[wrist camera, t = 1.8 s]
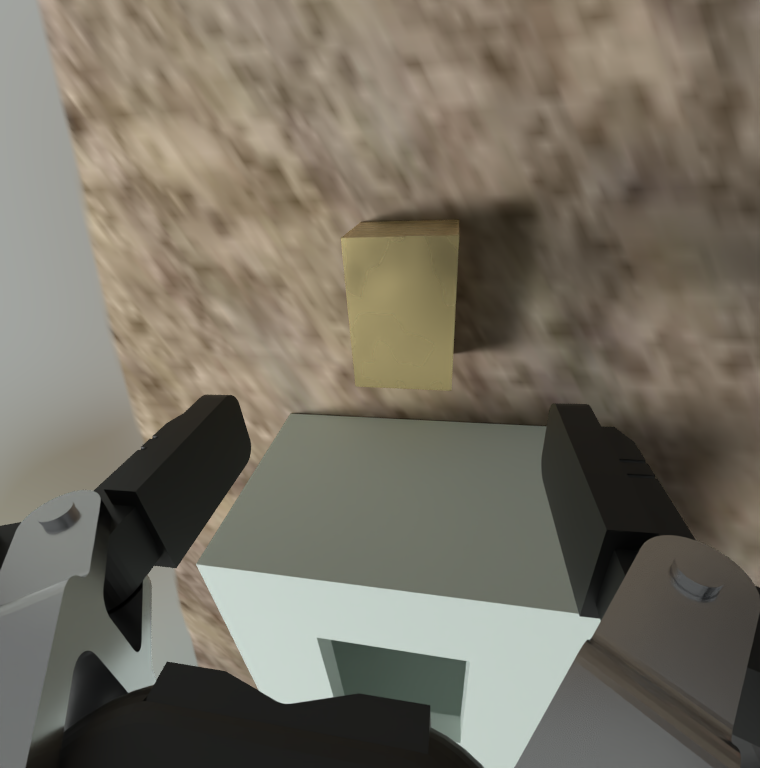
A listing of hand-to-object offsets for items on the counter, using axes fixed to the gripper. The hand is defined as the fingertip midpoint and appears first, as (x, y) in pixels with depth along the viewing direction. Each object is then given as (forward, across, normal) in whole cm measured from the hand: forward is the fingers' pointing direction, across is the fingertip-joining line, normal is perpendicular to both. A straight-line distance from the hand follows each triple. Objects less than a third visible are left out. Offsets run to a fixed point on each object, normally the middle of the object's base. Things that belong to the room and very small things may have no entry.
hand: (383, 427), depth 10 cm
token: (+9, 0, -1) cm, 9 cm away
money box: (+9, 0, +14) cm, 17 cm away
